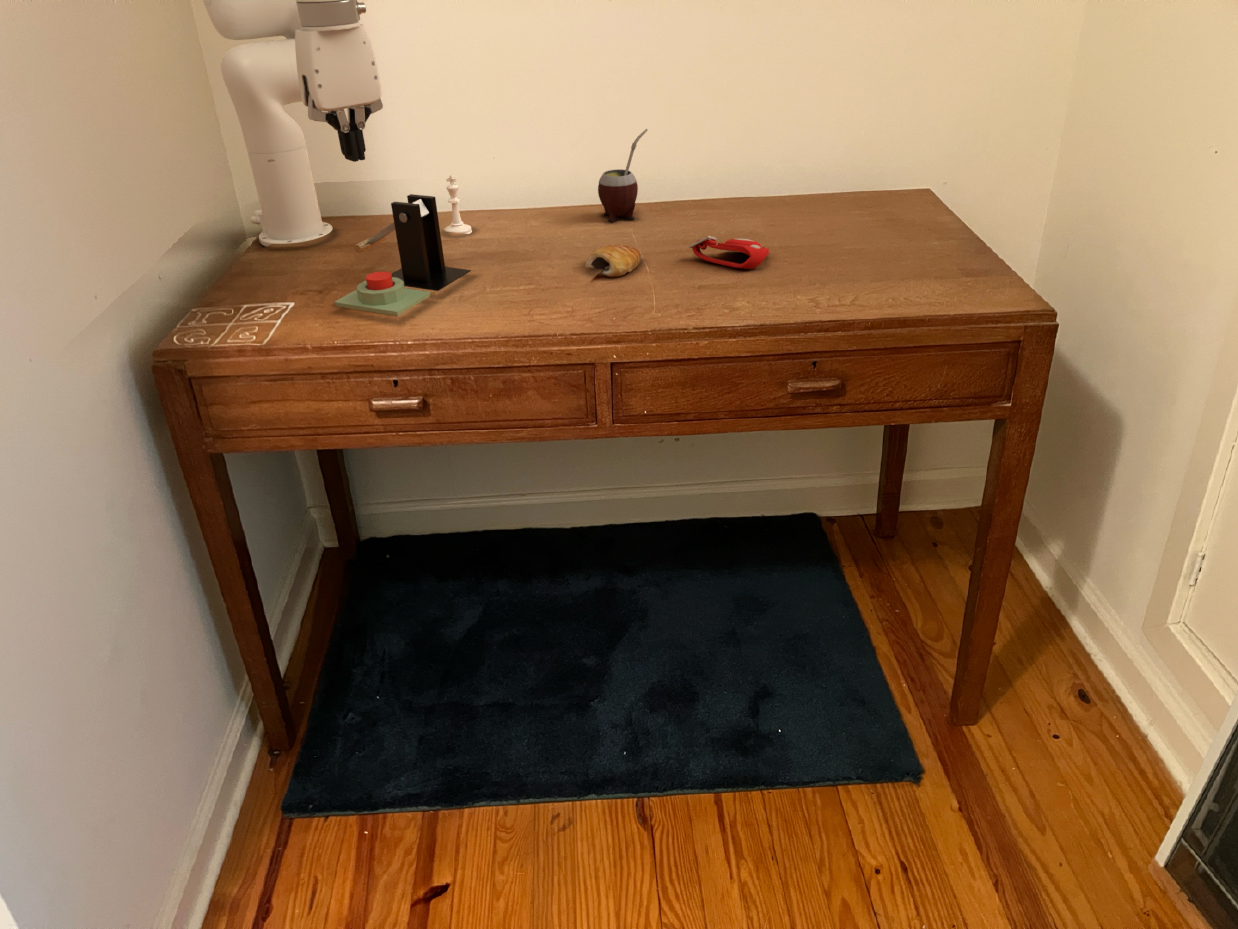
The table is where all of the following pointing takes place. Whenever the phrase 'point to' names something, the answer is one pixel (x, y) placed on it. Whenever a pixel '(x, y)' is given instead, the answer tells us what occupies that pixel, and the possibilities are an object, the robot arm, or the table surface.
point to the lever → (385, 231)
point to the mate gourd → (619, 190)
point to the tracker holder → (740, 245)
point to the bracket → (421, 246)
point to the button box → (383, 298)
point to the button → (379, 281)
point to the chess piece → (455, 210)
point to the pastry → (614, 259)
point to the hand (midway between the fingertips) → (355, 158)
